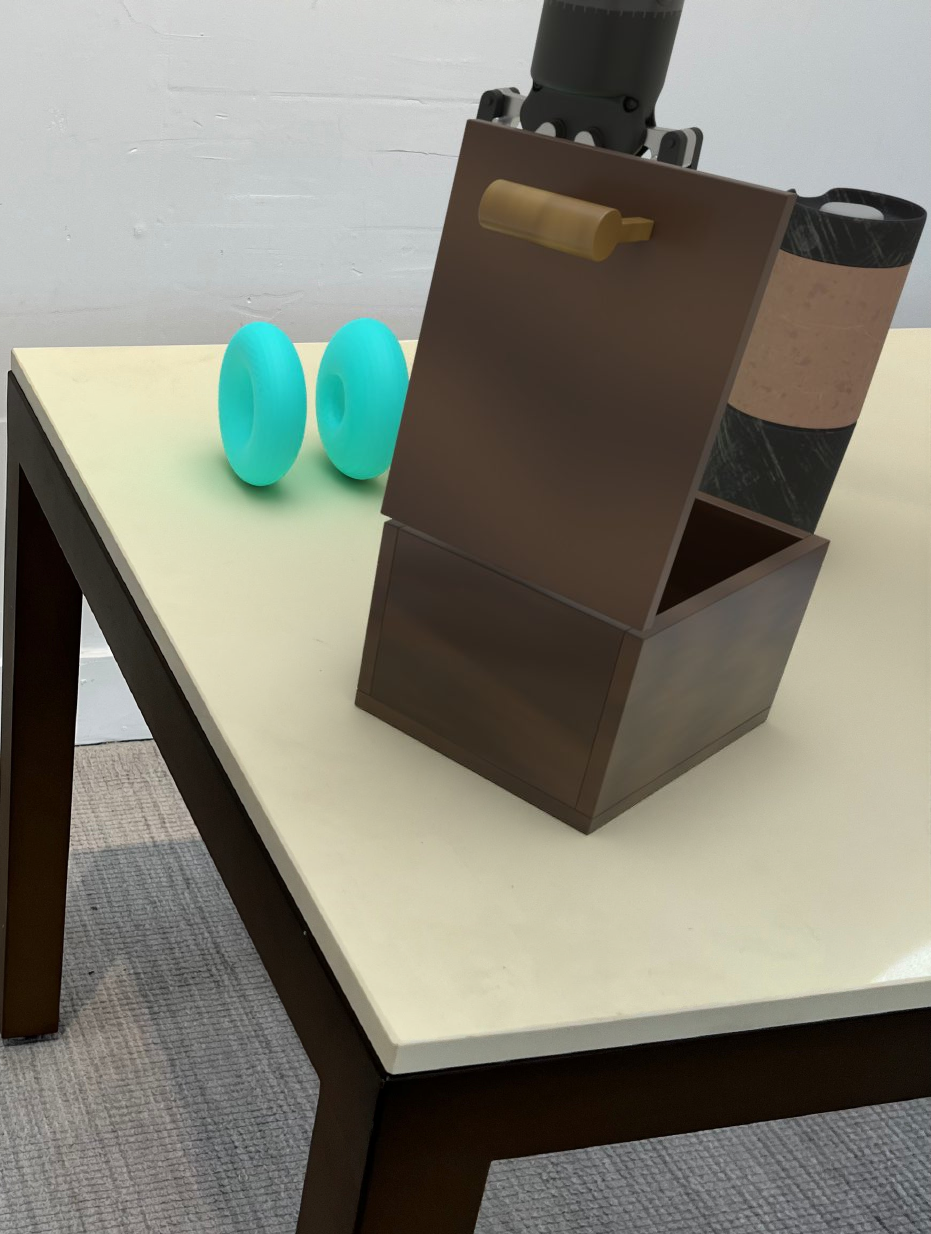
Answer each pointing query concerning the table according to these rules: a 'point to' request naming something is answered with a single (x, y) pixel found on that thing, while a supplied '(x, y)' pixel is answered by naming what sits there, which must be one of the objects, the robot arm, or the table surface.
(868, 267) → the travel mug
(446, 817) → the table surface
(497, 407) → the lid
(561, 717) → the chest
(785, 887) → the table surface
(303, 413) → the donuts
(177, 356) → the table surface
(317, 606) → the table surface
